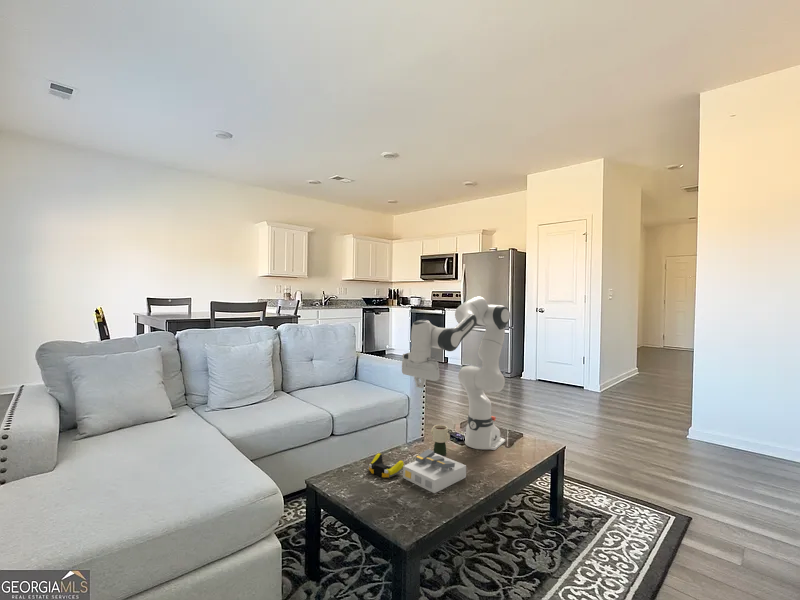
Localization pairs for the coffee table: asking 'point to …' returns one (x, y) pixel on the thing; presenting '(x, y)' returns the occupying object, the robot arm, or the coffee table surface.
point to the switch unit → (433, 474)
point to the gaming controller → (384, 467)
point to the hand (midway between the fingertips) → (419, 387)
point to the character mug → (440, 438)
